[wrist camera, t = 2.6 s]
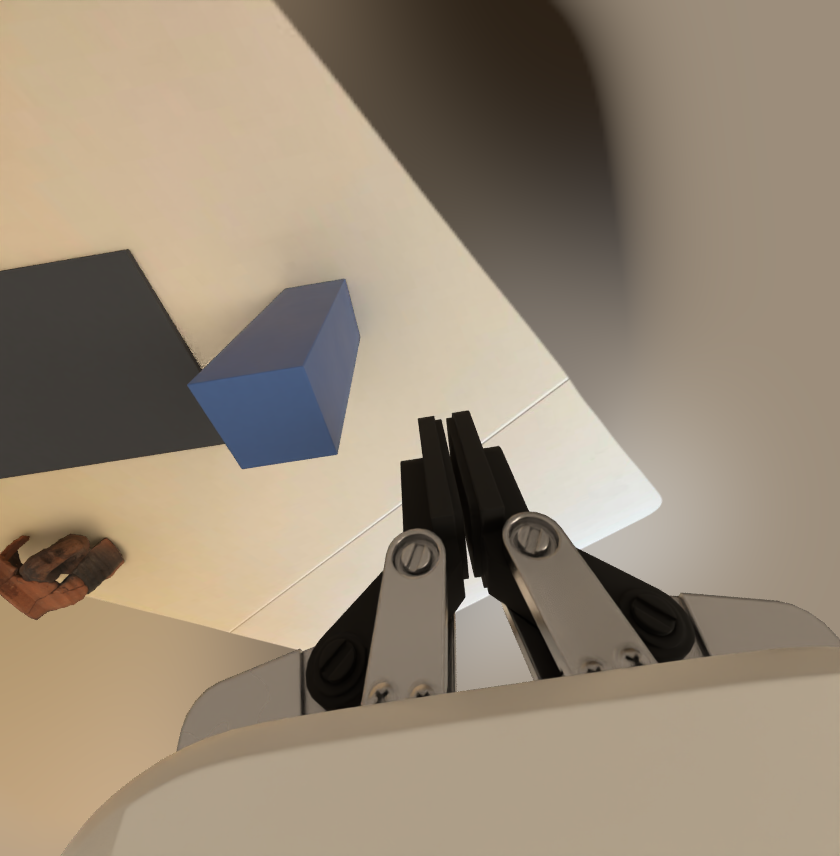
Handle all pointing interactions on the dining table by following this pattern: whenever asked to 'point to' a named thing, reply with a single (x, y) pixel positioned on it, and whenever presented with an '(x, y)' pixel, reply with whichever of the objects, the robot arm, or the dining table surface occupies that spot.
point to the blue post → (285, 378)
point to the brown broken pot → (55, 573)
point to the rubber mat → (91, 368)
